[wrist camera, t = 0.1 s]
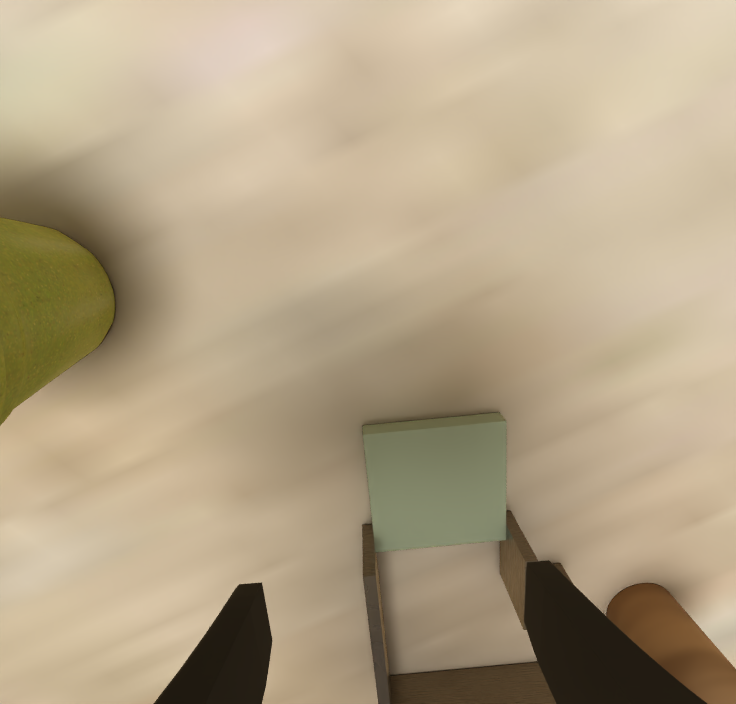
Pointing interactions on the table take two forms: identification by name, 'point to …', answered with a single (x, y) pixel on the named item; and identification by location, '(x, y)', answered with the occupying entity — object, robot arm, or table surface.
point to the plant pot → (46, 308)
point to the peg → (674, 641)
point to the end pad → (437, 481)
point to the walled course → (464, 686)
